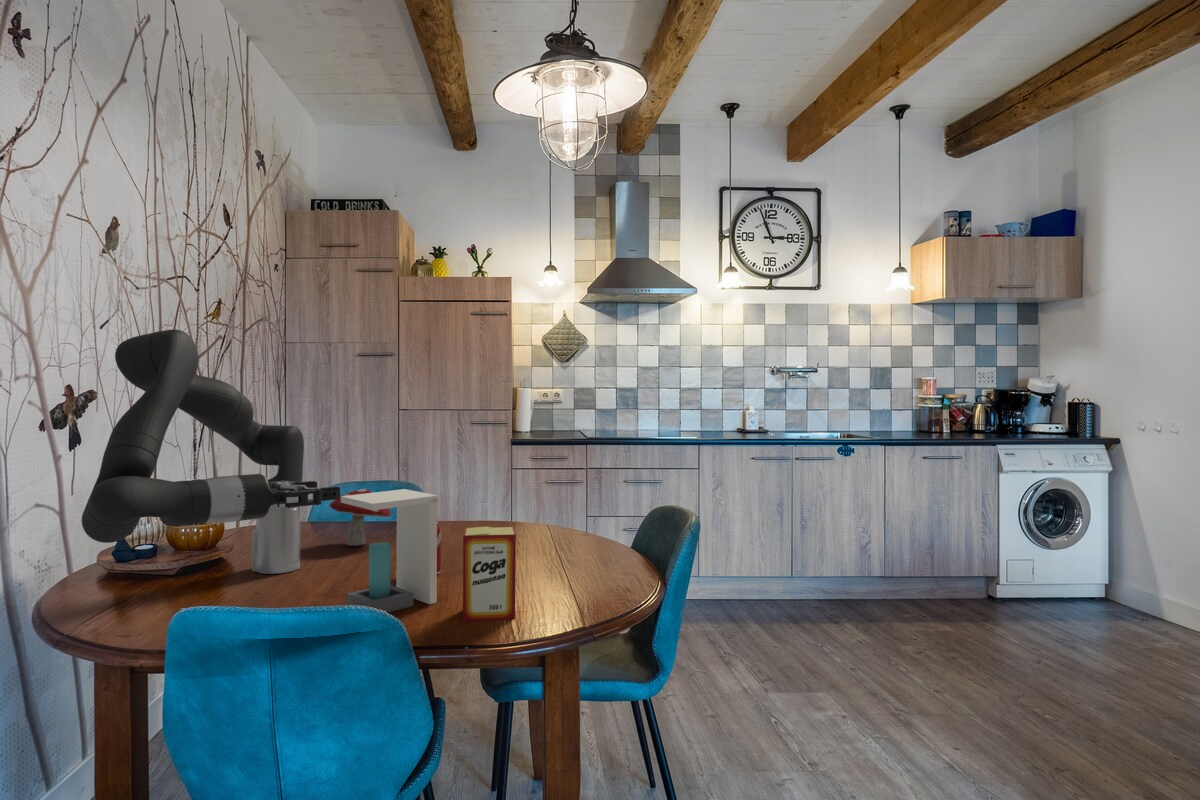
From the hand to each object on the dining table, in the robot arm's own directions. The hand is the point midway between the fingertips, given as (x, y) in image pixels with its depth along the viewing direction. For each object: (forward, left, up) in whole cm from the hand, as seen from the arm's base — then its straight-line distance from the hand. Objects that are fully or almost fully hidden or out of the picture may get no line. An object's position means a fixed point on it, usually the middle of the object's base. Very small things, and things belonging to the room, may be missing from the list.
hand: (327, 489), depth 126 cm
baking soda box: (+28, +6, -24) cm, 38 cm away
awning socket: (+8, +10, -24) cm, 27 cm away
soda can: (+7, +31, -24) cm, 40 cm away
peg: (+6, +8, -24) cm, 26 cm away
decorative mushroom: (-20, +57, -24) cm, 65 cm away
